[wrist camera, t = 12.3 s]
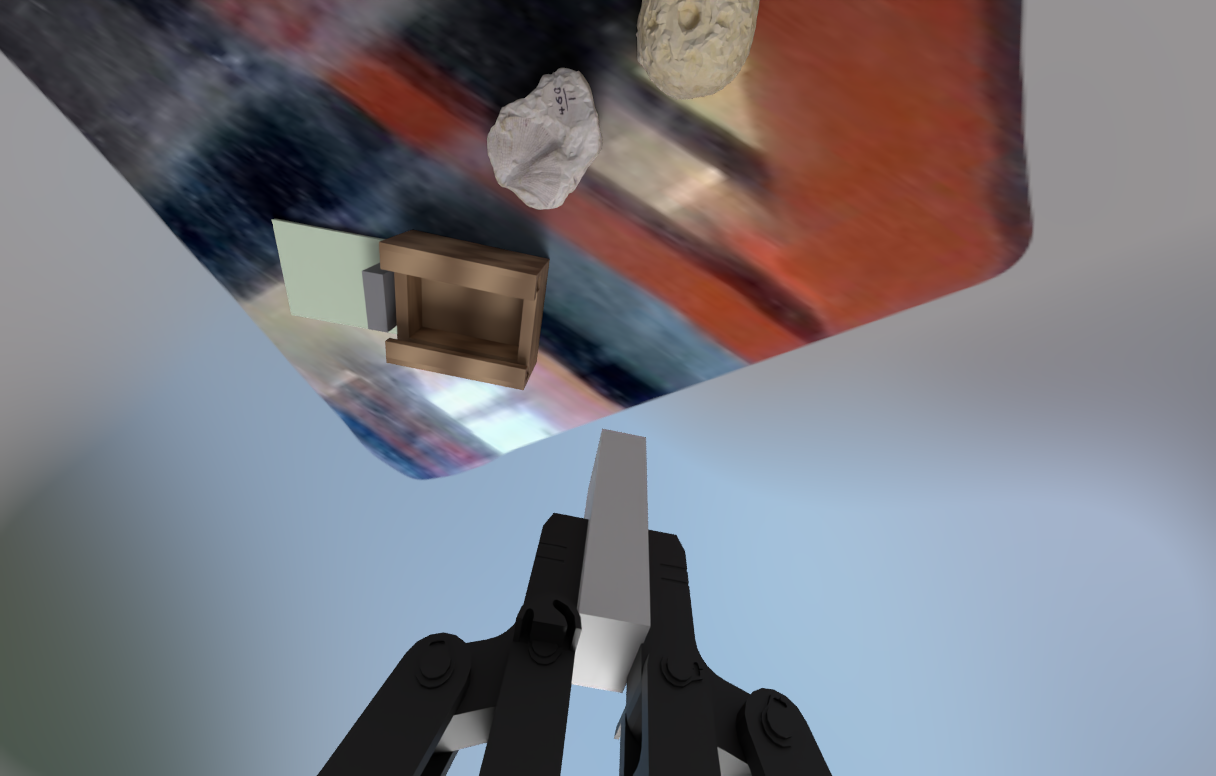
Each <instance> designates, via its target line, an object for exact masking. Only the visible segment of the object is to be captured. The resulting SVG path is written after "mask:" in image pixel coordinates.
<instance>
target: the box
mask: <svg viewBox="0 0 1216 776" xmlns="http://www.w3.org/2000/svg"><path fill="white" fill-rule="evenodd" d="M379 254H380V269H383V270H388V271H392V272H394V279H395V299H396V319H397V339H398V340H397V339H392V338H389V339H387V340H386V341H385V345H386V360H387V363H391V364H396V365H401V366H406V367H411V368H416V369H421V370H426V371H431V372H436V373H441V374H446V375H451V376H456V377H461V378H466V379H471V380H476V381H481V382H486V383H490V384H495V385H500V386H505V387H510V388H515V389H520V390H524V388H525V386H526V384H527V382H528V379H529V377H530V375H531V373H532V371H533V369H534V367H535V365H536V362H537V354H538V346H539V338H540V330H541V323H542V315H543V307H544V299H545V292H546V284H547V276H548V268H549V260H550V259H547V258H542V257H537V256H533V255H528V254H523V253H519V252H514V251H509V250H505V249H500V248H495V247H491V246H486V245H482V244H477V243H472V242H468V241H463V240H458V239H454V238H449V237H444V236H440V235H435V234H431V233H426V232H421V231H417V230H410V231H407V232H404V233H402V234H399V235H396V236H393V237H391V238H388V239H385V240H383V241H380V242H379Z"/></svg>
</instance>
